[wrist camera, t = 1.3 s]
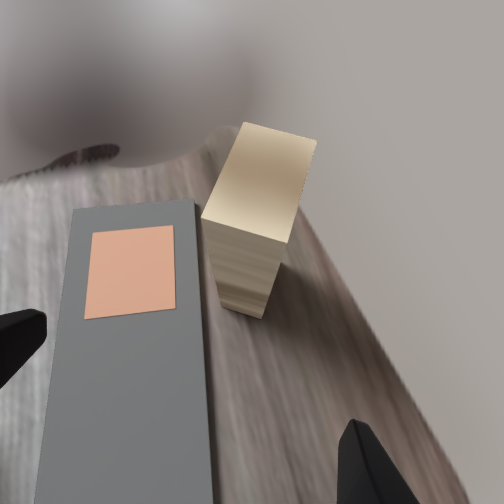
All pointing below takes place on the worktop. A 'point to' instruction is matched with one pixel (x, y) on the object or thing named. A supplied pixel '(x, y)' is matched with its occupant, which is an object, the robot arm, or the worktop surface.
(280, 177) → the cream block
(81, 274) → the mat
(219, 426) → the worktop surface
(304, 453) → the worktop surface
